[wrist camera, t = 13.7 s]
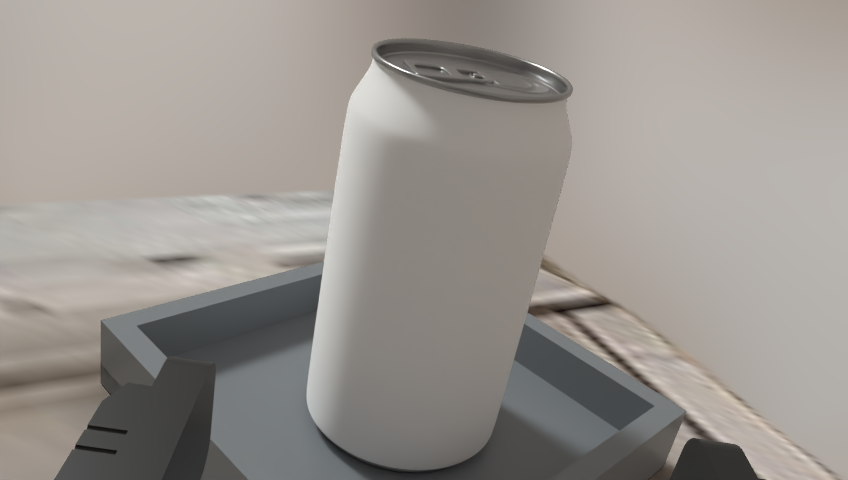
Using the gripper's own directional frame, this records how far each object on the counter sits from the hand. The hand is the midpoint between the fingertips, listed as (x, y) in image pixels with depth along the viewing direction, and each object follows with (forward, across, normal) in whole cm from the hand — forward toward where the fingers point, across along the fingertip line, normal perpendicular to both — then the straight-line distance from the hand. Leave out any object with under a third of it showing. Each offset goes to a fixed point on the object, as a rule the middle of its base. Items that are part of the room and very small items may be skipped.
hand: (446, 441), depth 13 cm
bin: (+11, 0, +9) cm, 14 cm away
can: (+11, 0, +8) cm, 14 cm away
